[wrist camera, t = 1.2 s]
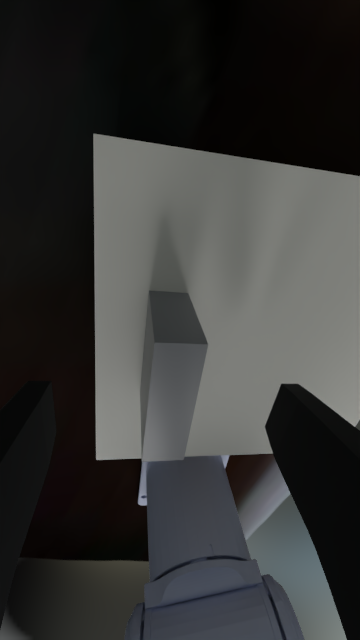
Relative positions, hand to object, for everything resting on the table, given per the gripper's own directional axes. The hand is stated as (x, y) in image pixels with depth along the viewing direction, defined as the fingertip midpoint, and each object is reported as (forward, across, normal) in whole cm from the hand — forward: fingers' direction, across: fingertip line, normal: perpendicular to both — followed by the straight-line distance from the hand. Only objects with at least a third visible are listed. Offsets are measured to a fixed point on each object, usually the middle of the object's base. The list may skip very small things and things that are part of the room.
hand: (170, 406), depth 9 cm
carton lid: (+4, -5, 0) cm, 6 cm away
